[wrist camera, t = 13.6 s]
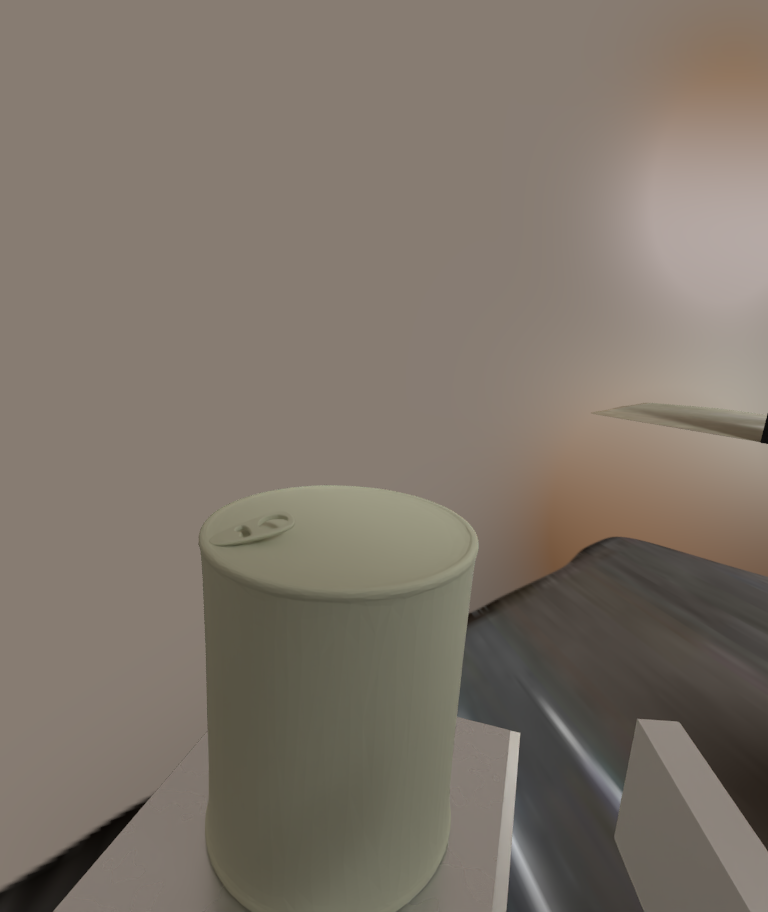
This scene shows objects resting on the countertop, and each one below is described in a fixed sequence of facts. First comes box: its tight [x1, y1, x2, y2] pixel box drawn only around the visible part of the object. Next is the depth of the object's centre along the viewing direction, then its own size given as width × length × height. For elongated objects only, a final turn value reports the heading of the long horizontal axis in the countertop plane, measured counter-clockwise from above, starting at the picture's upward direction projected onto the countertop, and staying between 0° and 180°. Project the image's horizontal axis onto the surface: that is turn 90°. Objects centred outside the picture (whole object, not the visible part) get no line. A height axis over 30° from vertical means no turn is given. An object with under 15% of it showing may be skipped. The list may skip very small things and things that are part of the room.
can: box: [199, 485, 479, 912], centre depth 20 cm, size 9×9×12 cm
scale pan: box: [53, 717, 510, 912], centre depth 23 cm, size 13×16×2 cm
